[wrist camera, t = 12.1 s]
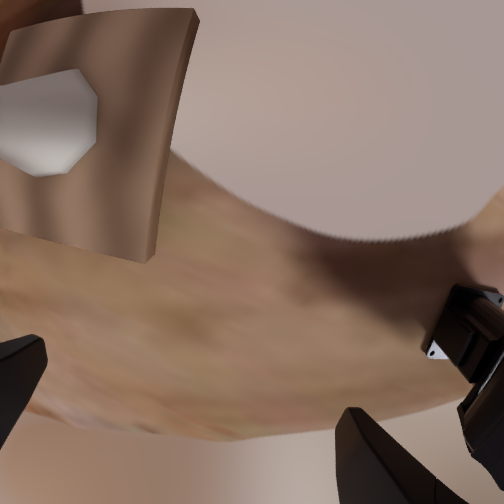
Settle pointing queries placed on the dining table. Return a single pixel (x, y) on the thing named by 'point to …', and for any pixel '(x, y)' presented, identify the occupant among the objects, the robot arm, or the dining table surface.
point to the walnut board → (104, 127)
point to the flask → (47, 122)
